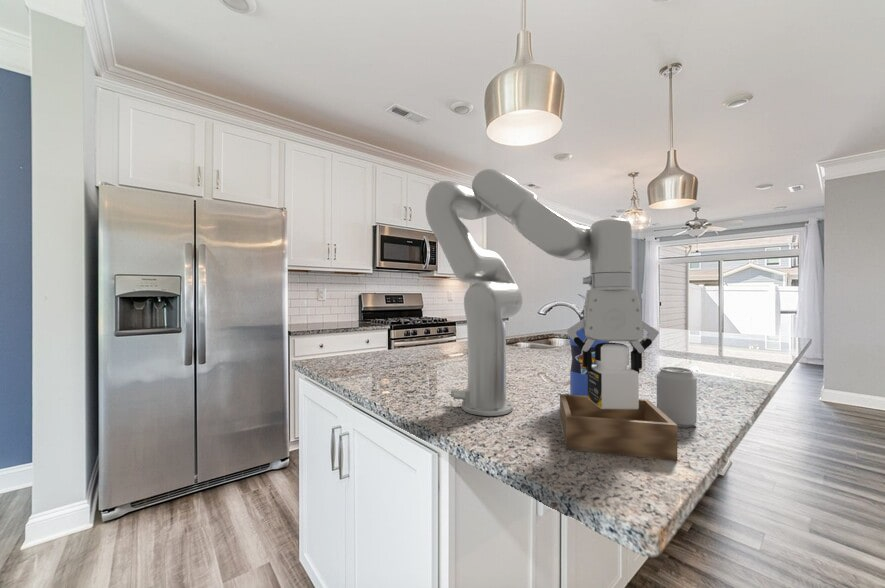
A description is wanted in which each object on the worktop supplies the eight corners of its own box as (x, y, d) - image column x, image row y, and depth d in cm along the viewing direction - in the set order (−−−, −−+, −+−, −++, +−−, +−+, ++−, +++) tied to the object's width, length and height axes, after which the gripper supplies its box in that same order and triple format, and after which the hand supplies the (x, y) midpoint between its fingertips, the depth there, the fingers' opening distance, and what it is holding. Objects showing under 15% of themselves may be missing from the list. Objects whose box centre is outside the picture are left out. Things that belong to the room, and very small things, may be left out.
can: (703, 430, 77) (703, 372, 77) (664, 427, 79) (664, 371, 79) (687, 418, 85) (687, 366, 85) (651, 416, 86) (651, 364, 86)
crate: (566, 449, 67) (566, 416, 67) (559, 420, 83) (559, 394, 83) (677, 460, 63) (677, 425, 63) (648, 427, 78) (648, 399, 78)
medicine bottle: (587, 399, 76) (586, 341, 76) (622, 399, 76) (621, 341, 76) (600, 409, 69) (600, 345, 69) (639, 409, 69) (638, 345, 69)
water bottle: (570, 399, 99) (570, 307, 99) (608, 403, 96) (608, 307, 96) (568, 409, 91) (568, 308, 91) (610, 414, 87) (610, 308, 87)
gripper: (566, 282, 71) (567, 373, 71) (666, 281, 67) (667, 377, 67) (563, 284, 78) (563, 366, 78) (653, 282, 74) (654, 369, 74)
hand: (611, 371), depth 73 cm, fingers closed on medicine bottle, 8 cm apart
